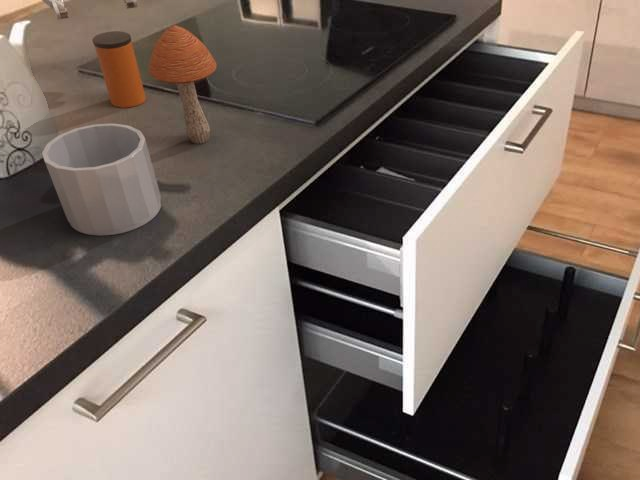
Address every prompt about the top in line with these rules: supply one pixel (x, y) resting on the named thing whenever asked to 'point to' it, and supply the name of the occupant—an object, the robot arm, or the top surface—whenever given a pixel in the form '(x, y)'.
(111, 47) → the tube
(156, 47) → the mushroom
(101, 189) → the faceted grey planter pot
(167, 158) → the top surface
